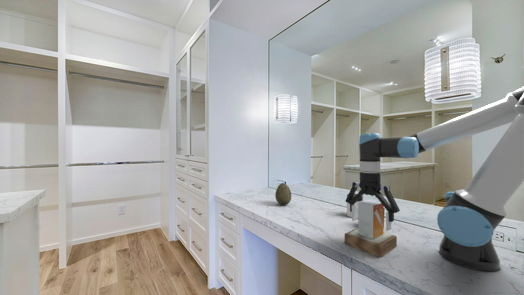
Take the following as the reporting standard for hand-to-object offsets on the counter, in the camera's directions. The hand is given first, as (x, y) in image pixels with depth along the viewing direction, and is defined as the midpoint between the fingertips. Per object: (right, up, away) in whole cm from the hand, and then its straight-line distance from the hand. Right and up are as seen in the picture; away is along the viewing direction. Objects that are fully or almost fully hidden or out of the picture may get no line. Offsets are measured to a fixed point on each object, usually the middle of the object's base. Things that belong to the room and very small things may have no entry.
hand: (370, 224), depth 85 cm
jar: (+9, -8, +35) cm, 37 cm away
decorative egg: (-29, -8, +58) cm, 66 cm away
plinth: (0, -8, 0) cm, 8 cm away
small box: (0, -4, 0) cm, 4 cm away
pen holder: (+11, -8, +19) cm, 23 cm away
